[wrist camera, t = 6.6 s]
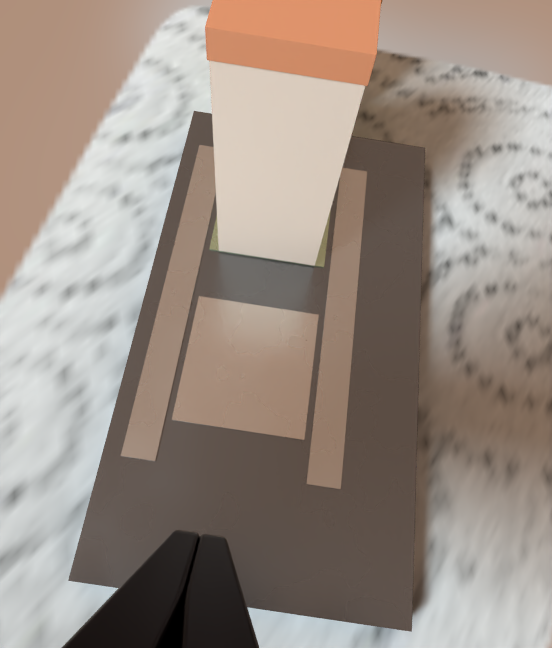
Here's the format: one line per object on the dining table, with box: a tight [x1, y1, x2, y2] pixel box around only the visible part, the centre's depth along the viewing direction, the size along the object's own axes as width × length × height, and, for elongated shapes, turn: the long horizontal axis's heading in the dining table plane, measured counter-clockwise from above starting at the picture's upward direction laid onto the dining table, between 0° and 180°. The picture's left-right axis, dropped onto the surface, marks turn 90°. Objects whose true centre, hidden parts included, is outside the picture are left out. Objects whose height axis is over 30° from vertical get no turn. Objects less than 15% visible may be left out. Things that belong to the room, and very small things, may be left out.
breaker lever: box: [205, 0, 381, 266], centre depth 18 cm, size 4×4×10 cm
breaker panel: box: [68, 111, 425, 631], centre depth 19 cm, size 20×11×5 cm, turn 172°
